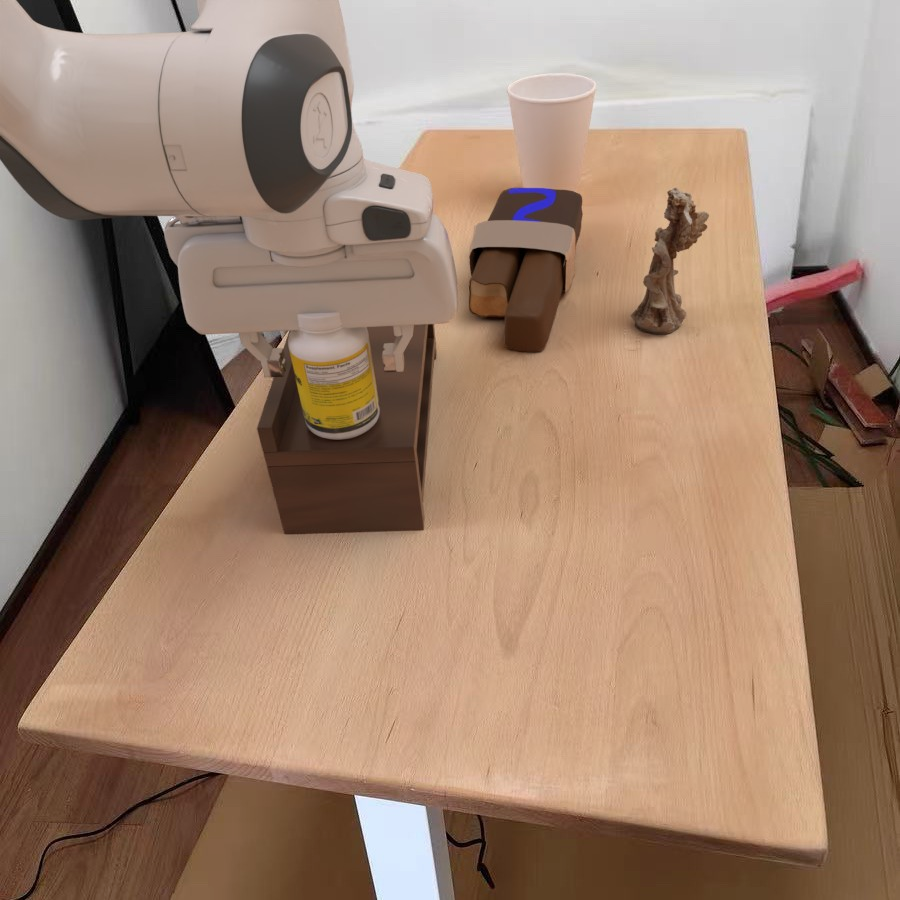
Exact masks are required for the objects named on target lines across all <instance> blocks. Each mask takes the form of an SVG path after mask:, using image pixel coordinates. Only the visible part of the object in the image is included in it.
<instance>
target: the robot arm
mask: <svg viewBox="0 0 900 900" xmlns="http://www.w3.org/2000/svg"><path fill="white" fill-rule="evenodd" d="M196 5H197V6H196V7H197V13H198V17H197V19H196V20H195V21H194V23H193V24H191V26H190V29H191V30H188V31H174V32H173V31H172V32H142V33H141V32H139V33H138V32H137V33H86V32H76V31H69V30H62V29H56V28H52V27H50V26H49V27H48V26H45V25H42V24H40V23H38V22H36V21H35V20H33V18H32V17H31V16H30V14H29V13H28V12H27V11H26V10H25V9H24V8H23V6H22V5H20V3H19V1H18V0H0V162H1V163H2V165H3V166H4V168H6V170H7V171H8V173H9V174H10V175H11V177H12V178H13V179H14V180H15V182H16V183H17V185H19V187H20V188H22V190H23V191H25V193H26V194H27V195H28V196H29V197H30V198H31V199H32V200H33V201H34V202H35V203H37V204H38V206H40V207H41V208H42V209H44V210H45V211H47V212H49V213H50V214H52V215H54V216H56V217H58V218H61V219H65V220H70V221H86V220H87V221H88V220H98V219H99V220H100V219H101V220H102V219H115V218H123V217H128V216H131V217H133V216H134V217H135V216H136V217H137V216H138V217H171V218H170V219H169V220H168V221H167V222H166V224H165V227H164V232H163V233H164V240H165V244H166V248H167V249H168V250H167V251H168V254H169V257H170V259H171V260H172V261H173V263H174V264H175V265H176V266H177V274H178V284H179V291H180V299H181V303H182V309H183V313H184V317H185V320H186V324H187V325H189V327H191V328H192V329H193V330H194V331H196V332H197V333H198V334H199V335H205V336H206V335H208V336H209V335H225V334H226V335H227V334H238V336H239V341H240V344H241V345H242V346H243V347H244V348H245V349H246V350H247V351H248V352H249V353H250V354H251V355H252V356H253V357H254V358H256V360H257V361H259V362H260V364H261V369H262V373H263V377H264V378H266V379H267V378H274V377H284V375H285V374H284V372H285V371H286V360H285V359H284V351H283V348H284V347H273V346H272V345H271V344H270V343H269V342H268V340H267V339H266V338H265V337H264V335H262V334H263V333H268V332H269V333H270V332H289V331H294V330H299V329H300V327H299V322H298V316H297V315H298V314H309V313H330V312H339V314H340V320H341V323H342V325H341V326H342V327H343V328H359V327H381V326H393V330H394V335H395V336H397V337H396V339H395V341H394V343H384V346H383V352H382V359H383V363H384V372H403V370H404V351H405V349H406V347H407V345H408V343H409V342H410V340H411V338H412V336H413V328H414V325H424V324H434V325H443V324H444V325H445V324H448V323H449V322H450V321H451V320H452V319H453V318H454V316H455V315H456V313H458V310H459V285H458V275H457V268H456V263H455V258H454V254H453V249H452V245H451V240H450V238H449V234H448V231H447V228H446V227H445V224H444V223H443V221H442V219H440V217H439V216H438V215H437V214H435V213H434V191H433V186H432V184H431V181H430V179H429V177H427V176H425V175H424V174H421V173H419V172H418V173H417V172H414V171H410V170H405V169H402V168H397V167H393V166H390V165H386V164H382V163H379V162H375V161H371V160H369V159H365V158H364V152H363V151H364V150H363V147H362V143H361V140H360V138H359V135H358V133H357V131H356V128H355V125H354V122H353V115H352V114H353V113H352V112H353V109H352V105H353V97H354V92H355V91H354V87H355V85H354V84H355V83H354V77H353V75H354V74H353V70H352V62H351V61H352V60H351V55H350V49H349V42H348V37H347V33H346V27H345V23H344V17H343V12H342V9H341V4H340V1H339V0H196ZM178 222H179V223H178Z"/></svg>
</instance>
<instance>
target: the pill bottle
mask: <svg viewBox="0 0 900 900" xmlns="http://www.w3.org/2000/svg"><path fill="white" fill-rule="evenodd" d="M297 316H298V322H299V327H300V329H299V330H294V331H290V334H289V337H288V346H289V351H290V356H291V360H292V364H293V369H294V373H295V378H296V383H297V387H298V392H299V396H300V401H301V405H302V410H303V414H304V418H305V422H306V425H307V427H308V428H309V430H310V431H311V432H313V433H314V434H315V435H317V436H319V437H322V438H327V439H333V440H341V439H349V438H353V437H357V436H359V435H361V434H363V433H365V432H366V431H368V430H369V429H370V428H372V427H373V426H374V424H375V423H376V422H377V420H378V418H379V413H380V408H379V400H378V393H377V386H376V380H375V373H374V367H373V360H372V354H371V347H370V340H369V334H368V330H367V327H359V328H343V327H342V326H341V325H342V323H341V320H340V314H339V312H330V313H309V314H298V315H297Z"/></svg>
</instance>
